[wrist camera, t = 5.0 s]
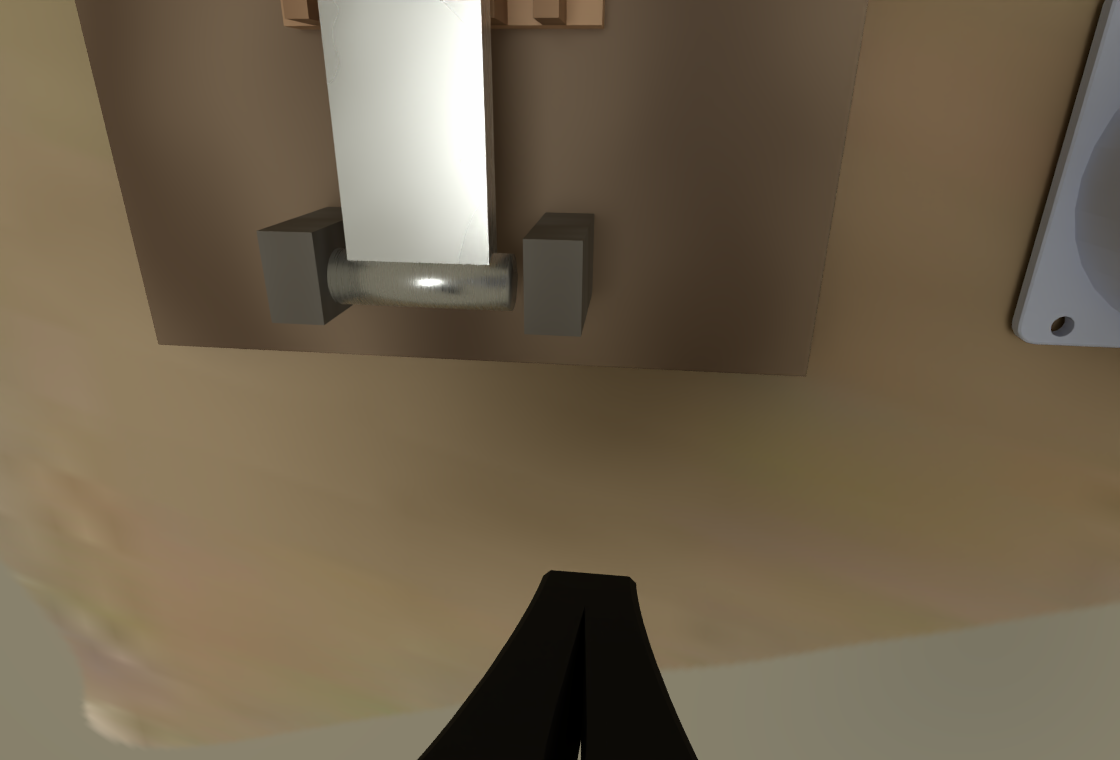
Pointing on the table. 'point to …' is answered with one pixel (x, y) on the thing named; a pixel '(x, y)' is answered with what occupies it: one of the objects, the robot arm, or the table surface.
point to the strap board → (499, 178)
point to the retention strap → (415, 154)
